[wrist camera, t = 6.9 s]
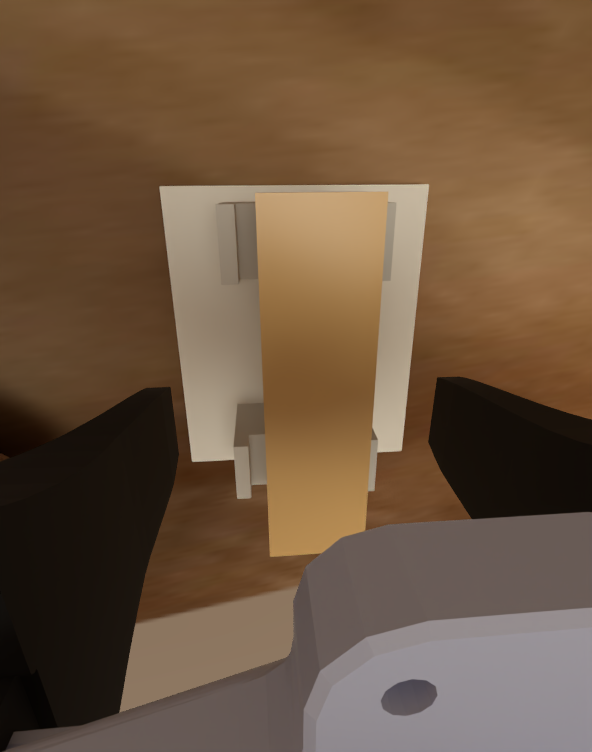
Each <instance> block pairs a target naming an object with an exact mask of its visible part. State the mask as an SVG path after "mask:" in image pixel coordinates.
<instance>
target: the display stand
mask: <svg viewBox="0 0 592 752" xmlns="http://www.w3.org/2000/svg"><path fill="white" fill-rule="evenodd" d="M159 188H160V196H161V205H162V213H163V222H164V230H165V238H166V247H167V255H168V263H169V272H170V280H171V289H172V297H173V305H174V314H175V322H176V330H177V339H178V347H179V356H180V364H181V372H182V381H183V389H184V397H185V406H186V414H187V423H188V431H189V439H190V448H191V456H192V462H201V461H220V460H234V462H235V475H236V489H237V499H242V498H251V485H261V484H267V470H266V446H265V422H264V398H263V375H262V351H261V327H260V303H259V279H258V255H257V232H256V208H255V193H263V192H388V206H387V220H386V235H385V249H384V264H383V278H382V293H381V307H380V322H379V336H378V351H377V365H376V380H375V394H374V409H373V423H372V438H371V452H370V467H369V481H368V491H374V487H375V474H376V461H377V452H391V451H402V441H403V432H404V422H405V412H406V402H407V393H408V383H409V373H410V364H411V354H412V344H413V335H414V325H415V315H416V306H417V296H418V286H419V276H420V267H421V257H422V247H423V238H424V228H425V218H426V209H427V199H428V189H429V184H408V185H258V186H159Z"/></svg>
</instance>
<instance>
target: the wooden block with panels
mask: <svg viewBox="0 0 592 752" xmlns="http://www.w3.org/2000/svg"><path fill="white" fill-rule="evenodd" d="M387 206H388V192H263V193H255V208H256V232H257V255H258V279H259V303H260V327H261V351H262V375H263V398H264V422H265V446H266V470H267V494H268V518H269V541H270V557H275V556H289V555H303V554H318V553H323V552H324V551H325V550H327V549H328V548H329V547H330V546H332V545H333V544H334V543H335V542H336V541H338V540H339V539H340V538H342V537H345V536H349V535H352V534H356V533H360V532H363V531H365V525H366V510H367V496H368V481H369V467H370V452H371V438H372V423H373V409H374V394H375V380H376V365H377V351H378V336H379V322H380V307H381V293H382V278H383V264H384V249H385V235H386V220H387Z"/></svg>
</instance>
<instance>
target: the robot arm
mask: <svg viewBox="0 0 592 752" xmlns="http://www.w3.org/2000/svg"><path fill="white" fill-rule="evenodd" d="M428 442H429V445H430V447H431V449H432V452H433V454H434V457H435V459H436V461H437V463H438V465H439V468H440V470H441V472H442V473H443V475H444V476H445V478H446V480H447V481H448V483H449V484H450V486H451V488H452V489H453V491H454V492H455V494H456V495H457V497H458V498H459V500H460V501H461V503H462V505H463V506H464V508H465V509H466V511H467V512H468V514H469V515H470V517H471V518H472V519H470V520H454V521H438V522H422V523H406V524H391V525H385V526H382V527H378V528H374V529H371V530H367V531H363V532H360V533H356V534H352V535H349V536H345V537H342V538H340V539H339V540H338V541H336V542H335V543H334V544H333V545H332V546H330V547H329V548H328V549H327V550H325V551H324V552H323V553H322V554H321V555H319V556H318V557H317V558H316V559H314V560H313V561H312V562H311V563H310V564H308V565H307V566H306V567H305V570H304V573H303V576H302V579H301V581H300V584H299V587H298V590H297V593H296V596H295V598H294V601H293V603H294V605H293V607H294V637H293V643H292V648H291V652H290V654H289V656H288V657H286V658H284V659H281V660H278V661H275V662H272V663H269V664H265V665H263V666H259V667H257V668H253V669H250V670H247V671H245V672H241V673H239V674H235V675H232V676H229V677H226V678H223V679H220V680H217V681H214V682H211V683H208V684H205V685H202V686H199V687H196V688H193V689H190V690H187V691H184V692H181V693H178V694H175V695H172V696H169V697H166V698H163V699H160V700H157V701H154V702H151V703H148V704H145V705H142V706H139V707H136V708H132V709H129V710H126V711H123V712H120V713H119V710H120V705H121V699H122V693H123V688H124V682H125V675H126V670H127V664H128V658H129V653H130V647H131V642H132V637H133V632H134V627H135V622H136V616H137V611H138V606H139V602H140V597H141V592H142V587H143V583H144V578H145V573H146V570H147V566H148V562H149V559H150V555H151V552H152V549H153V546H154V543H155V540H156V537H157V534H158V531H159V528H160V525H161V522H162V519H163V516H164V513H165V510H166V507H167V504H168V501H169V498H170V495H171V492H172V488H173V485H174V480H175V474H176V468H177V462H178V456H179V452H178V444H177V436H176V428H175V420H174V412H173V404H172V396H171V388H170V387H162V388H146V389H143V390H141V391H139V392H137V393H135V394H134V395H132V396H130V397H129V398H127V399H125V400H124V401H122V402H120V403H119V404H117V405H116V406H114V407H112V408H111V409H109V410H107V411H106V412H104V413H102V414H101V415H99V416H97V417H96V418H94V419H92V420H90V421H88V422H87V423H85V424H83V425H81V426H79V427H78V428H76V429H74V430H72V431H70V432H68V433H67V434H65V435H63V436H61V437H58V438H56V439H54V440H52V441H50V442H48V443H46V444H43V445H41V446H39V447H36V448H34V449H32V450H29V451H27V452H25V453H22V454H20V455H17V456H14V457H11V458H8V459H5V460H3V461H0V752H592V420H591V419H587V418H583V417H580V416H576V415H573V414H569V413H566V412H563V411H560V410H557V409H554V408H551V407H548V406H545V405H542V404H539V403H536V402H533V401H530V400H528V399H525V398H522V397H519V396H517V395H514V394H511V393H508V392H506V391H503V390H500V389H498V388H495V387H492V386H489V385H487V384H484V383H481V382H478V381H475V380H471V379H468V378H463V377H438V378H437V383H436V390H435V397H434V405H433V412H432V419H431V426H430V434H429V441H428Z"/></svg>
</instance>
